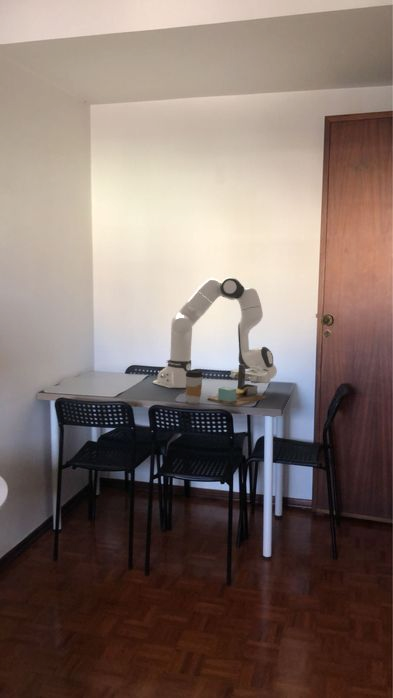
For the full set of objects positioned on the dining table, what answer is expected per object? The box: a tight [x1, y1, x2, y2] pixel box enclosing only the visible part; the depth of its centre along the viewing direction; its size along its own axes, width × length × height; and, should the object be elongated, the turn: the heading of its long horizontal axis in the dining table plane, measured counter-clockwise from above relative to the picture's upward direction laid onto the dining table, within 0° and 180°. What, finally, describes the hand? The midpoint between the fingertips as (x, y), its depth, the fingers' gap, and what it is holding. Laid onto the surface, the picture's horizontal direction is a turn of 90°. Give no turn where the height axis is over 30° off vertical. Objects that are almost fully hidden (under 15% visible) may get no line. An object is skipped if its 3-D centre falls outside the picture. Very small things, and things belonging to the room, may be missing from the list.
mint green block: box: [217, 386, 237, 402], centre depth 284 cm, size 7×5×6 cm
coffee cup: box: [185, 369, 204, 404], centre depth 281 cm, size 8×8×15 cm
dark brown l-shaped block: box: [235, 364, 251, 396], centre depth 294 cm, size 3×14×15 cm, turn 142°
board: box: [207, 394, 267, 407], centre depth 292 cm, size 18×26×1 cm
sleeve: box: [236, 383, 258, 397], centre depth 298 cm, size 6×9×4 cm
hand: (241, 377), depth 293 cm, fingers open, 8 cm apart
